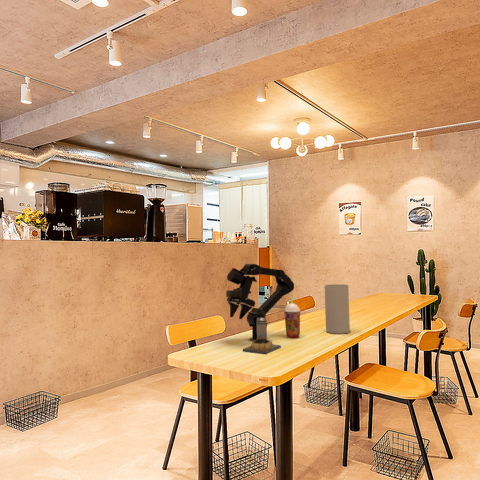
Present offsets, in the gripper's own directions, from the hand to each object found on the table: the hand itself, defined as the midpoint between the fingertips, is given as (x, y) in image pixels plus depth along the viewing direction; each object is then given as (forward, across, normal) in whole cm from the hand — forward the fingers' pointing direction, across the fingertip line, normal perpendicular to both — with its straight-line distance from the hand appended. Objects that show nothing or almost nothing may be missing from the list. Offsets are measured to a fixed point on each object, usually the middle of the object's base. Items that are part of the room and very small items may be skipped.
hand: (235, 318), depth 199 cm
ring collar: (+10, +17, +8) cm, 22 cm away
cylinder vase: (-11, +8, +58) cm, 60 cm away
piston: (+9, +17, +8) cm, 21 cm away
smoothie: (0, +4, +34) cm, 34 cm away
